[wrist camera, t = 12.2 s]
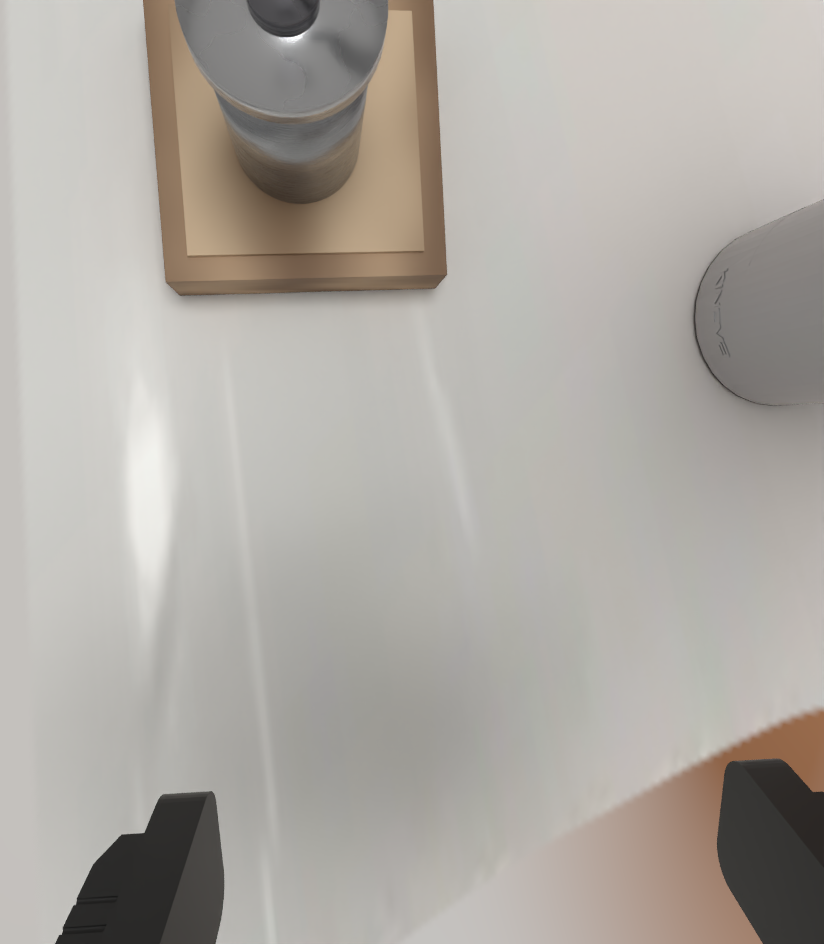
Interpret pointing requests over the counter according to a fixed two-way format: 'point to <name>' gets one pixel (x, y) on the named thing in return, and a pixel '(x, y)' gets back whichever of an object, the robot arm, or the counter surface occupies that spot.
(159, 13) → the stand
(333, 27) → the grey lidded canister
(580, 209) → the counter surface
